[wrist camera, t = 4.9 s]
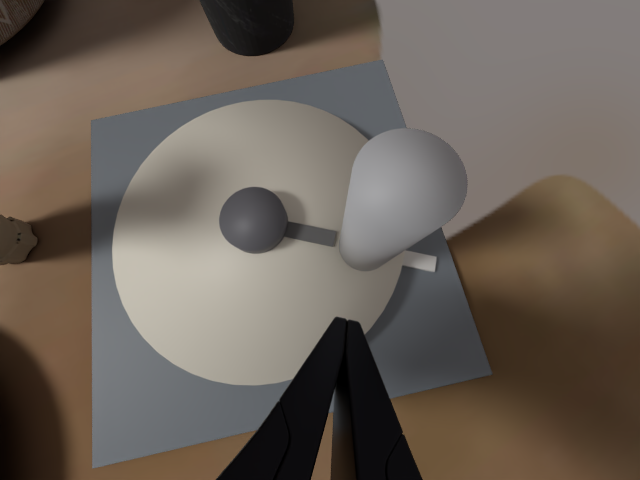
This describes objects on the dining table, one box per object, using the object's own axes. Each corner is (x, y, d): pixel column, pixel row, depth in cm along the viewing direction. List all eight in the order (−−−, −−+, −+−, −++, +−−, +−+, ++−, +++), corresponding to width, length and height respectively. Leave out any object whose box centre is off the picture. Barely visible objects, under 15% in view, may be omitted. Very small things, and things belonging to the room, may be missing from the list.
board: (488, 372, 15) (495, 375, 15) (98, 464, 15) (87, 471, 14) (381, 63, 21) (383, 56, 20) (95, 123, 21) (87, 117, 20)
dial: (77, 338, 16) (-306, 396, 6) (179, 92, 20) (42, -101, 11) (375, 417, 15) (470, 652, 5) (419, 132, 19) (517, -50, 9)
